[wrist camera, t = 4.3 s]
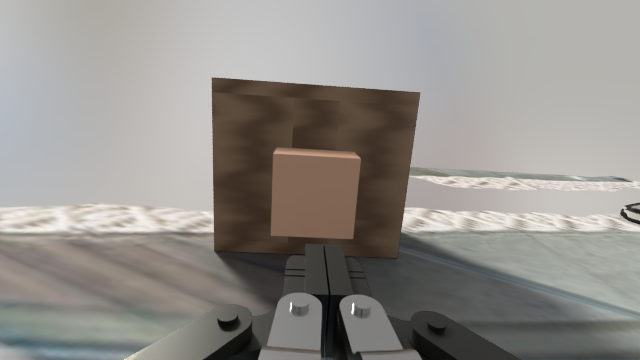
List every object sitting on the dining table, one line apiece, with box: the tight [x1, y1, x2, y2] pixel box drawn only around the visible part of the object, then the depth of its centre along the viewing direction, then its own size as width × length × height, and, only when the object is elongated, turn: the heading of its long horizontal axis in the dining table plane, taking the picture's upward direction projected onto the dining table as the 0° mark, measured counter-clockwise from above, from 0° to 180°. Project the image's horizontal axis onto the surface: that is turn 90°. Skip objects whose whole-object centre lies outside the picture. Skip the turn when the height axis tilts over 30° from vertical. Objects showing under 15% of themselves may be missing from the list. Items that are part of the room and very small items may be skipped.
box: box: [212, 78, 420, 258], centre depth 34 cm, size 18×10×16 cm, turn 93°
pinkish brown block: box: [271, 147, 361, 239], centre depth 26 cm, size 6×9×6 cm, turn 3°
